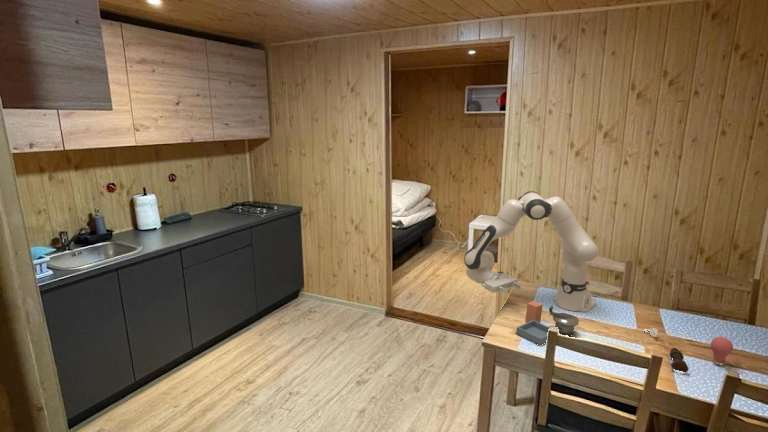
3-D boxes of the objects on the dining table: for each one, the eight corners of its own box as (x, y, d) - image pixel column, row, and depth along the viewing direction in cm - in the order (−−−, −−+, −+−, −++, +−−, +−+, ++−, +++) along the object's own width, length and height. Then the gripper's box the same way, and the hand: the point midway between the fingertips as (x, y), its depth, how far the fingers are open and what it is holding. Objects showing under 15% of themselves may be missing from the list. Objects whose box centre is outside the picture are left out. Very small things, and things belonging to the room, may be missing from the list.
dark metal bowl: (579, 331, 195) (582, 310, 193) (573, 341, 187) (576, 319, 184) (550, 322, 203) (553, 302, 201) (543, 331, 195) (546, 310, 192)
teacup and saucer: (641, 330, 198) (642, 323, 197) (660, 334, 195) (662, 327, 194) (643, 339, 191) (644, 331, 190) (663, 343, 187) (665, 335, 186)
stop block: (531, 319, 206) (533, 300, 204) (540, 323, 202) (542, 304, 200) (525, 322, 203) (527, 303, 201) (534, 326, 200) (536, 307, 197)
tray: (532, 326, 199) (533, 319, 198) (556, 337, 189) (557, 330, 188) (516, 334, 192) (516, 327, 191) (540, 346, 182) (541, 339, 181)
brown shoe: (675, 359, 178) (680, 377, 165) (664, 351, 179) (668, 368, 166) (686, 350, 175) (691, 367, 162) (674, 342, 177) (679, 358, 164)
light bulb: (702, 359, 175) (708, 333, 172) (718, 359, 175) (724, 333, 172) (716, 369, 168) (723, 342, 165) (733, 369, 168) (739, 342, 166)
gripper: (479, 278, 213) (501, 287, 202) (504, 271, 225) (526, 279, 214) (478, 289, 215) (500, 299, 204) (503, 281, 227) (525, 290, 216)
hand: (514, 289), depth 209 cm, fingers open, 8 cm apart
